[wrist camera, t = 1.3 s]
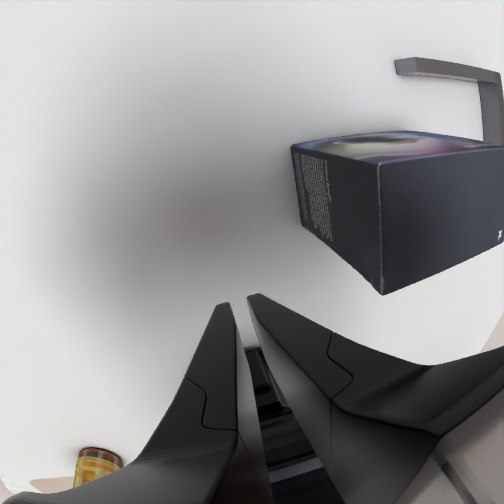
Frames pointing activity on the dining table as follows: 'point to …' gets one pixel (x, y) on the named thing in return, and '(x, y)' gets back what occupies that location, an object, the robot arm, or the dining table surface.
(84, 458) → the sauce bottle
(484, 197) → the small box
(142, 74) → the dining table surface
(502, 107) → the guide rails
